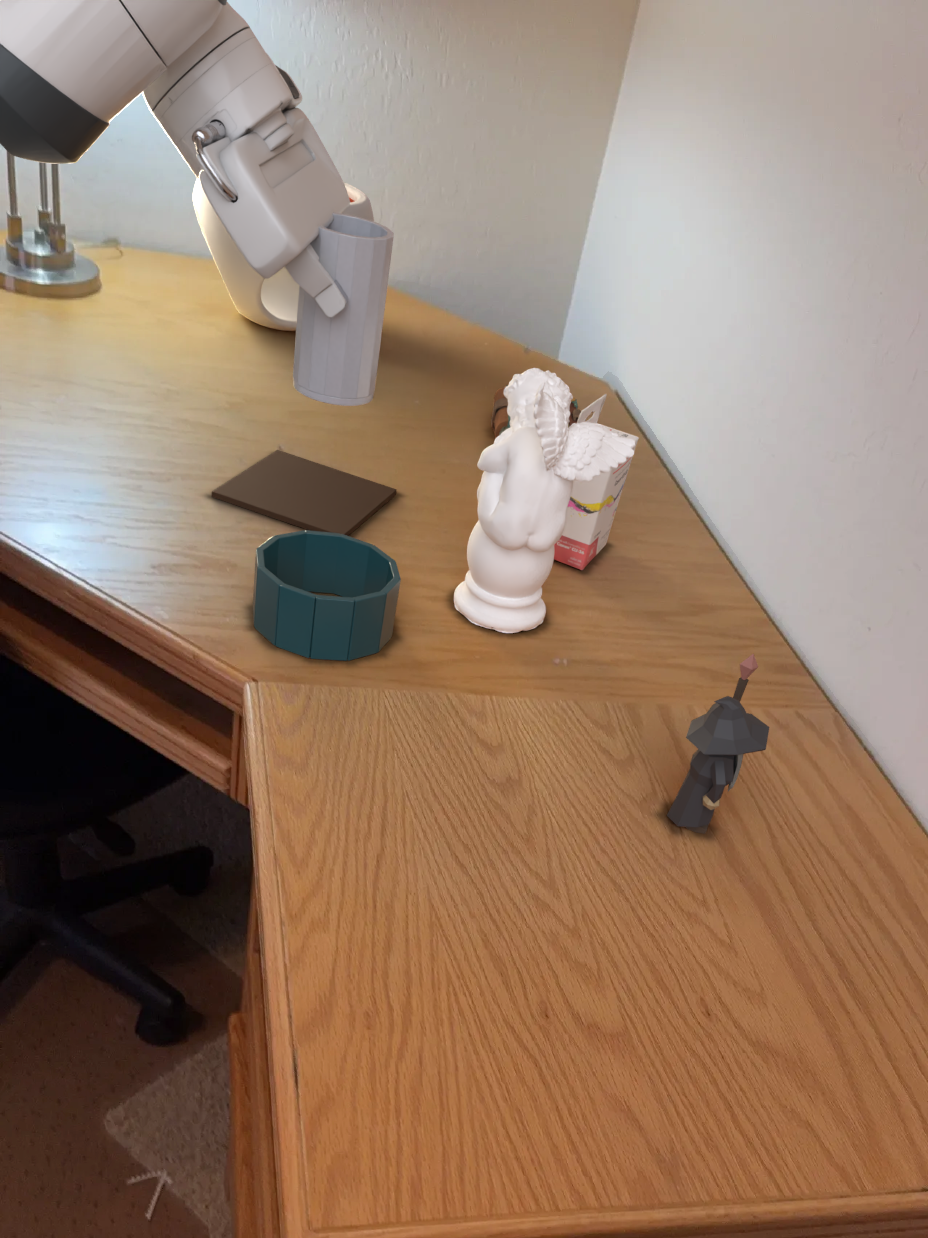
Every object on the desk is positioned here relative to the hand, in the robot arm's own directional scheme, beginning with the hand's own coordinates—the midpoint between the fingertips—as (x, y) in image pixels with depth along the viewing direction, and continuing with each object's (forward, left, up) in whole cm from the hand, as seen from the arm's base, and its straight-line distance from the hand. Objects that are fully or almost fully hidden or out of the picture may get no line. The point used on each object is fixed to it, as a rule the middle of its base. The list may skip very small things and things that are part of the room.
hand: (350, 297), depth 82 cm
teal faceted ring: (+4, -8, -23) cm, 25 cm away
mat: (-8, +14, -23) cm, 28 cm away
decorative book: (+8, +47, -23) cm, 53 cm away
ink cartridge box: (+19, +22, -23) cm, 37 cm away
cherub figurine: (+18, +4, -23) cm, 30 cm away
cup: (-1, 0, -7) cm, 7 cm away
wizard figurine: (+38, -16, -23) cm, 48 cm away
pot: (-36, +63, -23) cm, 76 cm away
